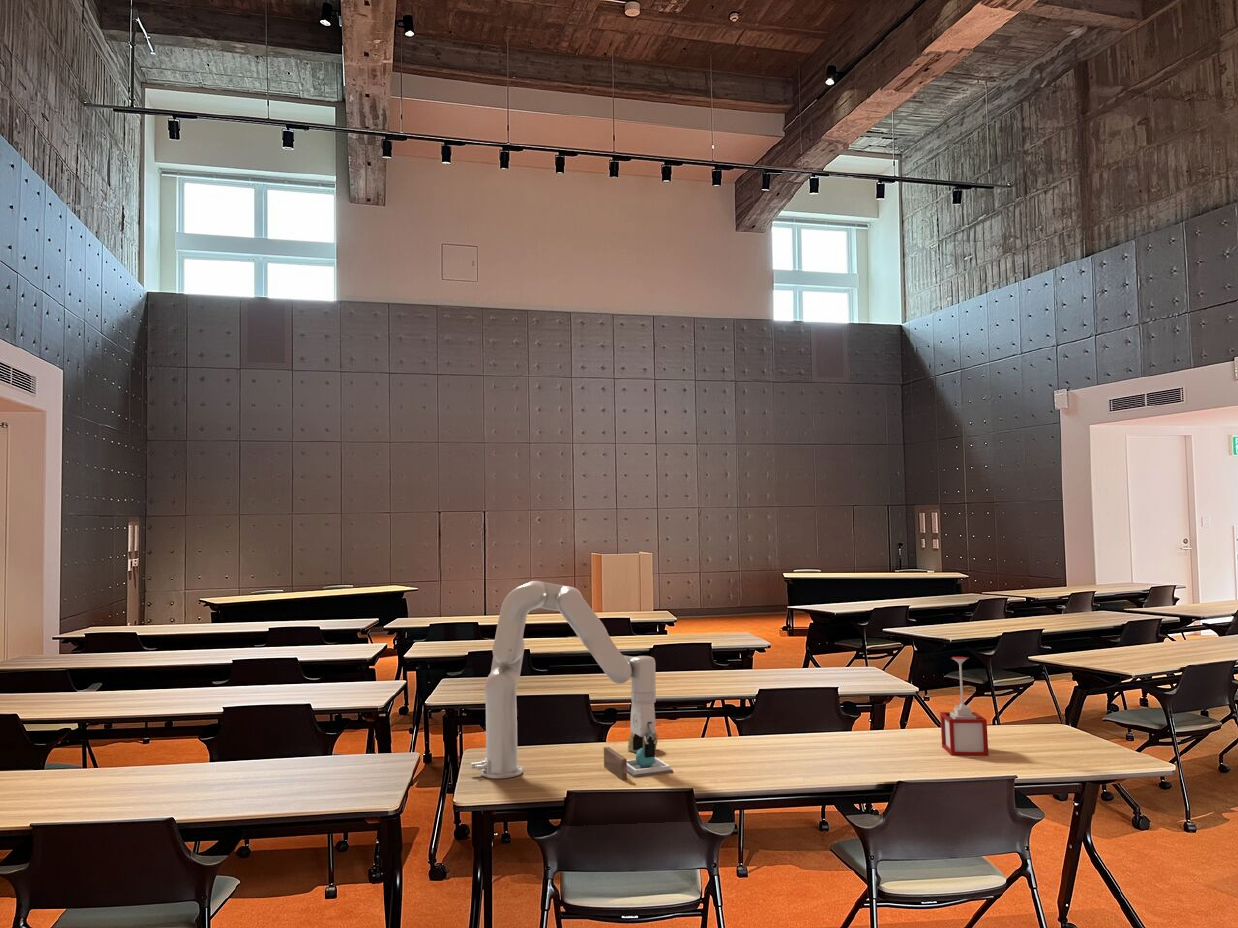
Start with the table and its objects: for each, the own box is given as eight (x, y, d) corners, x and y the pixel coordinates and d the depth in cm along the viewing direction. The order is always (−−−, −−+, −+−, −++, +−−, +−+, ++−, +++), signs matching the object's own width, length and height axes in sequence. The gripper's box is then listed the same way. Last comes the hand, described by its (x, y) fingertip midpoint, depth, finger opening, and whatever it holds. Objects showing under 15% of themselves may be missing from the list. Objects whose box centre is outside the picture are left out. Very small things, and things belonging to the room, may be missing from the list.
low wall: (621, 780, 250) (621, 759, 251) (604, 766, 265) (603, 747, 266) (626, 779, 251) (626, 758, 251) (608, 766, 266) (608, 746, 266)
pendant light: (977, 747, 281) (972, 655, 283) (988, 755, 269) (983, 660, 272) (942, 746, 282) (937, 655, 284) (951, 755, 271) (946, 660, 273)
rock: (649, 756, 290) (637, 729, 294) (668, 745, 283) (655, 716, 287) (628, 764, 283) (616, 736, 287) (647, 752, 276) (635, 723, 280)
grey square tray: (633, 777, 253) (633, 770, 253) (618, 766, 265) (618, 760, 265) (673, 772, 258) (673, 766, 258) (656, 761, 270) (656, 756, 270)
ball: (640, 770, 258) (639, 750, 258) (632, 765, 263) (632, 746, 264) (658, 768, 260) (657, 748, 260) (650, 763, 265) (650, 744, 266)
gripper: (622, 692, 270) (622, 747, 269) (642, 702, 254) (642, 761, 252) (644, 691, 273) (644, 745, 271) (665, 701, 256) (665, 758, 255)
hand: (643, 753), depth 262 cm, fingers open, 9 cm apart
